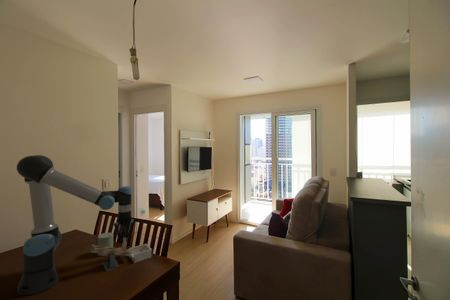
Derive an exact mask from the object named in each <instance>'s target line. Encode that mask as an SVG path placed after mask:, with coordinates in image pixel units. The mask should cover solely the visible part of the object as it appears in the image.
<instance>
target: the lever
mask: <svg viewBox="0 0 450 300" xmlns="http://www.w3.org/2000/svg"><path fill="white" fill-rule="evenodd" d="M89 248H90V249H89V251H90V253H91V254H93V253H94V254H97V253H101V254H109V255H110V254H114V253H115V256H124V257H125V256H127V257H129V256H130V255H131V253H132V252H129V248H128V249H127V247H126V248H125V249H123V248H122V246H119V247H113V248H111V247H102V246H98V245H95V244H93V243H92V244H91V246H90V247H89Z"/></svg>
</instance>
